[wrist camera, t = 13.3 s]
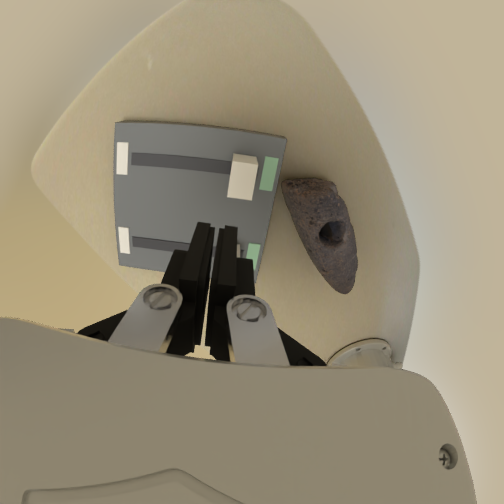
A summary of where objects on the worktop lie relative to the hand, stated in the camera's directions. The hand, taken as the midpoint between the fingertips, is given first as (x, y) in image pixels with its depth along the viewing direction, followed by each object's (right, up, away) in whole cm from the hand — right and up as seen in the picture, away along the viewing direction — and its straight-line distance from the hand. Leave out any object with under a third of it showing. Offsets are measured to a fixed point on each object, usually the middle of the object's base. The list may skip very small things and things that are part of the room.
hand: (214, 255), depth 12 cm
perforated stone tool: (+9, +3, +18) cm, 21 cm away
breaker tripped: (+1, +7, +12) cm, 14 cm away
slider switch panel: (-5, +5, +16) cm, 17 cm away
